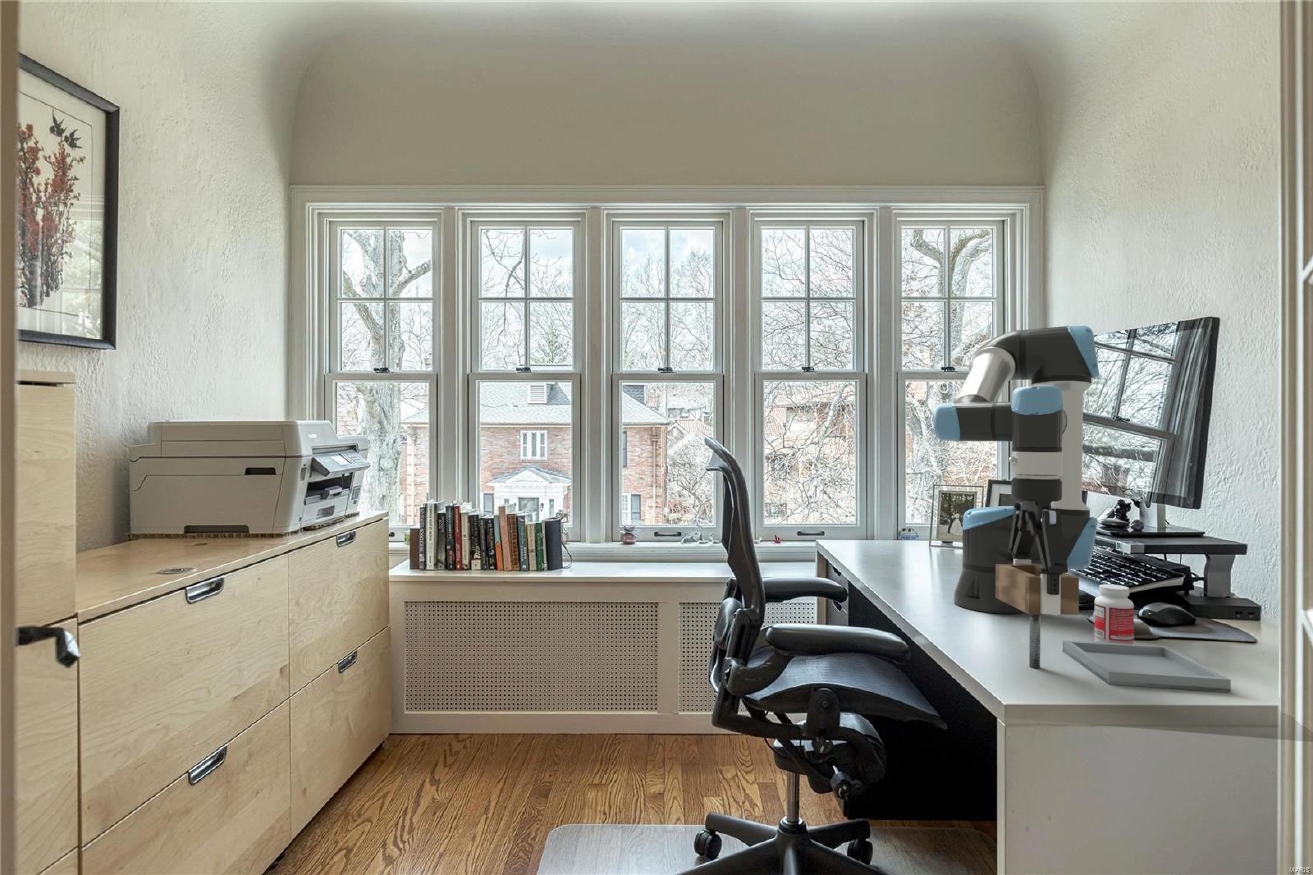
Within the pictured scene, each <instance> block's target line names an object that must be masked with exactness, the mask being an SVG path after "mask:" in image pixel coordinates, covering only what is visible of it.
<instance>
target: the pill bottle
mask: <svg viewBox="0 0 1313 875" xmlns="http://www.w3.org/2000/svg"><path fill="white" fill-rule="evenodd" d="M1098 586H1099V588H1098V589H1099V590H1098V592H1099V594H1100V595H1098V596H1096V598H1094V628H1093V629H1094V642H1103V643H1120V644H1135V635H1134V634H1135V630H1134V629H1135V626H1134V625H1135V608H1134V607H1135V605H1134V603H1133V601H1132V600H1131V599H1129V598H1128V597H1129V596H1130V588H1129V587H1128V586H1125V585H1120V584H1119V585H1118V584H1107V583H1106V584H1105V583H1104V584H1100V585H1098Z"/></svg>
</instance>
